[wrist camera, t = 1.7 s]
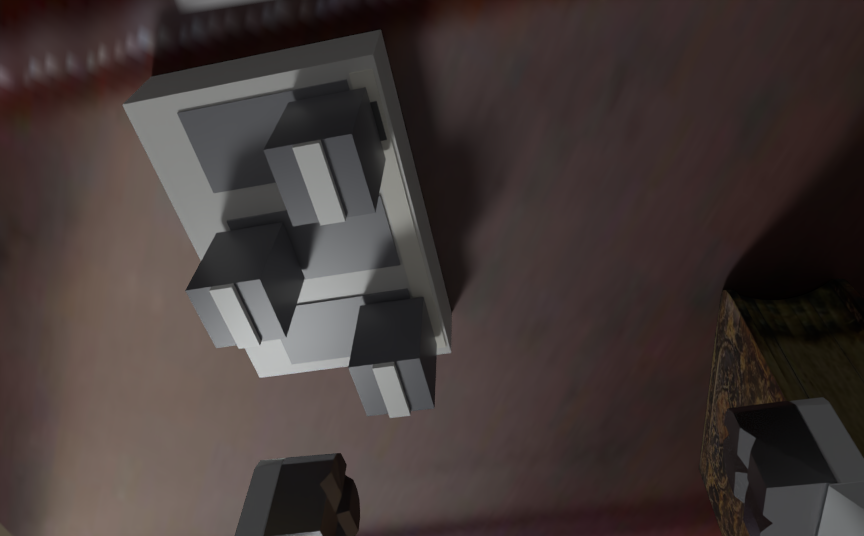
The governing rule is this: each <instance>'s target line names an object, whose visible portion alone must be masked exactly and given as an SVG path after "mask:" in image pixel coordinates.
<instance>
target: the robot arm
mask: <svg viewBox="0 0 864 536" xmlns="http://www.w3.org/2000/svg"><path fill="white" fill-rule="evenodd" d="M724 423H725V426H726V428H727V431H728V433H729V435H728V436H727V437H726V438H725V439H724V440H723V458H724V465H725V471H726V474H727V478H728V481H729V484H730V487H731V489H732V492H733V495H734V496H735V497H736V498H738V499H739V500H740V501H742V502H743V503H744V514H743V521H744V523H745V526H746V528H747V531H748V533H749V536H864V458H863V456H862V455H861V453H860V451H859V450H858V448H857V446H856V445H855V443H854V442H853V440H852V438H851V437H850V435H849V433H848V432H847V430H846V429H845V427H844V425H843V424H842V422H841V420H840V419H839V417H838V415H837V414H836V412H835V411H834V409H833V407H832V406H831V404H830V402H829V401H827V400H826V399H825V398H823V397H821V398H812V399H803V400H794V401H790V402H789V401H781V402H773V403H765V404H757V405H749V406H741V407H733V408H728V409H727V411H726V413H725V422H724ZM345 471H346V463H345V461H344V459H343V457H342V455H341V453H336V454H324V455H312V456H300V457H289V458H279V459H269V460H260V462H259V463H258V465H257V466H256V467H255V469H254V472H253V476H252V479H251V482H250V486H249V489H248V493H247V496H246V499H245V503H244V506H243V509H242V513H241V516H240V519H239V523H238V526H237V529H236V533H235V536H355V535H356V534H357V532H358V530H359V521H360V503H359V496H358V491H357V488H356V485H355V483H354V480H353V479H351V478H349V477H348V476H346V475H345Z"/></svg>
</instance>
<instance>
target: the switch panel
mask: <svg viewBox="0 0 864 536" xmlns="http://www.w3.org/2000/svg"><path fill="white" fill-rule="evenodd" d="M364 87H366V90H367V93H368V97H369V100H370V104H371V108H372V111H373V115H374V119H375V122H376V126H377V129H378V133H379V137H380V140H381V144H382V148H383V151H384V155H385V158H386V161H385V166H384V172H383V177H382V182H381V187H380V192H379V197H378V203H377V208H376V213H372V214H366V215H360V216H353V217H347V218H346V221H345V222H339V223H333V224H327V225H321V226H320V223H319V222H317V223H311V224H305V225H299V226H293V225H292V222H291V220H290V217H289V215H288V212H287V209H286V207H285V204H284V202H283V199H282V197H281V194H280V192H279V189H278V186H277V184H276V181H275V179H274V176H273V174H272V171H271V169H270V166H269V163H268V161H267V158H266V156H265V153H264V151H263V150H264V148H265V146H266V144H267V142H268V140H269V138H270V136H271V135H272V133H273V131H274V129H275V127H276V125H277V123H278V121H279V119H280V117H281V116H282V114H283V112H284V110H285V108H286V106H287V104H288V102H292V101H297V100H302V99H308V98H313V97H318V96H323V95H328V94H333V93H339V92H344V91H349V90H354V89H359V88H364ZM123 107H124V109H125V111H126V113H127V115H128V117H129V119H130V121H131V123H132V125H133V127H134V129H135V131H136V133H137V135H138V137H139V139H140V141H141V143H142V145H143V147H144V149H145V151H146V153H147V155H148V157H149V159H150V161H151V163H152V165H153V167H154V169H155V171H156V173H157V175H158V177H159V179H160V181H161V183H162V185H163V187H164V189H165V191H166V193H167V195H168V197H169V199H170V201H171V202H172V204H173V206H174V208H175V210H176V212H177V214H178V216H179V218H180V220H181V222H182V224H183V226H184V228H185V230H186V232H187V234H188V236H189V238H190V240H191V242H192V244H193V246H194V248H195V250H196V252H197V254H198V256H199V258H200V260H201V261H202V259H203V257H204V255H205V253H206V251H207V249H208V247H209V246H210V244H211V242H212V240H213V238H214V236H215V234H216V233H219V232H225V231H231V230H237V229H243V228H249V227H255V226H261V225H267V224H273V223H279V222H283V224H284V227H285V229H286V232H287V234H288V237H289V239H290V242H291V244H292V247H293V249H294V252H295V254H296V257H297V259H298V262H299V264H300V267H301V269H302V272H303V274H304V277H305V279H304V282H303V286H302V289H301V292H300V295H299V299H298V302H297V305H296V308H295V311H294V315H293V318H292V321H291V324H290V328H289V331H288V334H287V337H286V338H284V339H277V340H270V341H263V342H261V344H260V346H256V347H249V348H245V349H246V351H247V353H248V355H249V357H250V359H251V361H252V363H253V365H254V367H255V369H256V371H257V373H258V375H259V377H260V378H262V377H269V376H277V375H285V374H292V373H300V372H308V371H315V370H323V369H331V368H338V367H346V366H349V361H350V356H351V350H352V345H353V340H354V334H355V329H356V324H357V319H358V313H359V308H360V306H362V305H369V304H376V303H383V302H390V301H397V300H404V299H411V298H418V297H424V300H425V303H426V307H427V311H428V314H429V318H430V322H431V325H432V329H433V332H434V336H435V340H436V343H437V355H438V354H446V353H451V334H452V312H451V308H450V304H449V300H448V296H447V292H446V288H445V284H444V280H443V276H442V272H441V268H440V264H439V260H438V256H437V252H436V248H435V244H434V240H433V236H432V232H431V228H430V224H429V220H428V216H427V212H426V208H425V204H424V200H423V196H422V192H421V188H420V184H419V180H418V176H417V172H416V168H415V164H414V160H413V156H412V152H411V148H410V144H409V140H408V136H407V132H406V128H405V124H404V120H403V116H402V112H401V108H400V104H399V100H398V96H397V92H396V88H395V84H394V80H393V76H392V72H391V68H390V64H389V59H388V55H387V51H386V47H385V43H384V39H383V35H382V31H381V30H376V31H371V32H366V33H361V34H356V35H351V36H347V37H342V38H337V39H332V40H327V41H322V42H317V43H313V44H308V45H303V46H298V47H293V48H288V49H283V50H279V51H274V52H269V53H264V54H259V55H254V56H249V57H245V58H240V59H235V60H230V61H225V62H220V63H215V64H211V65H206V66H201V67H196V68H191V69H186V70H181V71H177V72H172V73H167V74H162V75H157V76H152V77H150V78H149V79H148V80H147V81H146V82H145V83H144V84H143V85H142V86H141V87H140V88H139V89H138V90H137V91H136V92H135V93H134V94H133V95H132V96H131V97H130V98H129V99H128V100H127V101H126V102H125V103H124V104H123Z"/></svg>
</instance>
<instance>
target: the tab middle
mask: <svg viewBox="0 0 864 536" xmlns="http://www.w3.org/2000/svg"><path fill="white" fill-rule="evenodd" d="M304 279H305V277H304V274H303V272H302V269H301V267H300V264H299V262H298V259H297V257H296V254H295V252H294V249H293V247H292V244H291V242H290V239H289V237H288V234H287V232H286V229H285V227H284V224H283V222H279V223H273V224H267V225H261V226H255V227H249V228H243V229H237V230H231V231H225V232H219V233H216V234H215V236H214V238H213V240H212V242H211V244H210V246H209V247H208V249H207V251H206V253H205V255H204V257H203V259H202V261H201V262H200V264H199V266H198V268H197V270H196V272H195V274H194V275H193V277H192V279H191V281H190V283H189V285H188V287H187V289H186V290H185V291H186V293H187V295H188V296H189V298H190V300H191V302H192V304H193V306H194V308H195V309H196V311H197V313H198V315H199V317H200V319H201V321H202V322H203V324H204V326H205V328H206V330H207V332H208V334H209V336H210V337H211V339H212V341H213V343H214V345H215V347H216V348H220V347H227V346H234V345H237V346H238V348H239V349H241V348H249V347H256V346H260V344H261V342H263V341H270V340H277V339H284V338H286V337H287V334H288V331H289V328H290V324H291V321H292V318H293V315H294V311H295V308H296V305H297V302H298V299H299V295H300V292H301V289H302V286H303V282H304Z"/></svg>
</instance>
